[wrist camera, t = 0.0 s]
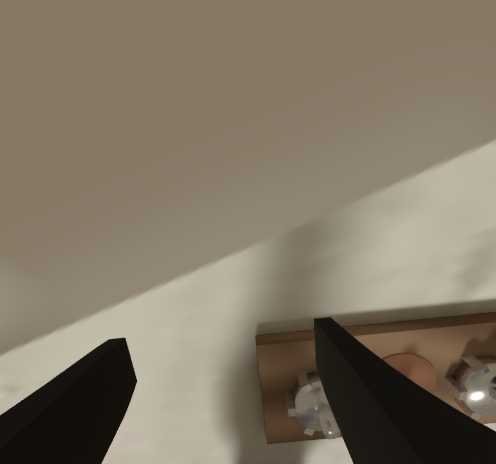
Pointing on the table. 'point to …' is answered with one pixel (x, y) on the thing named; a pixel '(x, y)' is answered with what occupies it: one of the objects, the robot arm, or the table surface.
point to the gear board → (384, 346)
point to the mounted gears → (460, 384)
